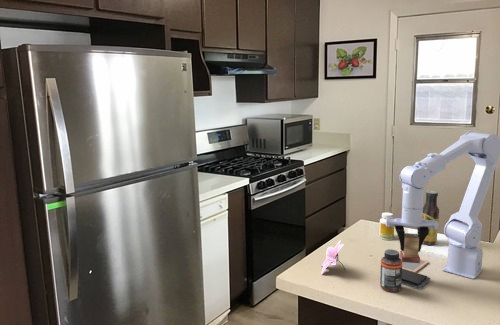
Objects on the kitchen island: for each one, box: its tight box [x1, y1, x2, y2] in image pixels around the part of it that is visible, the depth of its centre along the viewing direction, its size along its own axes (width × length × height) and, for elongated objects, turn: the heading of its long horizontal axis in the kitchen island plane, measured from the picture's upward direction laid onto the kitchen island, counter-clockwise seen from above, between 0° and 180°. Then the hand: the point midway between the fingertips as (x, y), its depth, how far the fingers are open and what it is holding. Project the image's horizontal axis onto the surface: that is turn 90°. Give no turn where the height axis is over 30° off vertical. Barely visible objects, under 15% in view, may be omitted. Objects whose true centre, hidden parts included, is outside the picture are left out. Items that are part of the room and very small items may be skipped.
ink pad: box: [401, 269, 432, 290], centre depth 132 cm, size 10×8×1 cm
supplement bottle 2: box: [379, 248, 402, 293], centre depth 126 cm, size 6×6×11 cm
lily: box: [321, 240, 346, 276], centre depth 140 cm, size 12×12×10 cm
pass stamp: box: [399, 232, 421, 263], centre depth 130 cm, size 5×5×8 cm
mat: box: [399, 252, 430, 273], centre depth 144 cm, size 11×11×1 cm
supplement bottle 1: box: [378, 211, 395, 241], centre depth 167 cm, size 5×5×10 cm
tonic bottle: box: [422, 189, 440, 246], centre depth 160 cm, size 6×6×20 cm
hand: (410, 250), depth 131 cm, fingers closed on pass stamp, 4 cm apart
